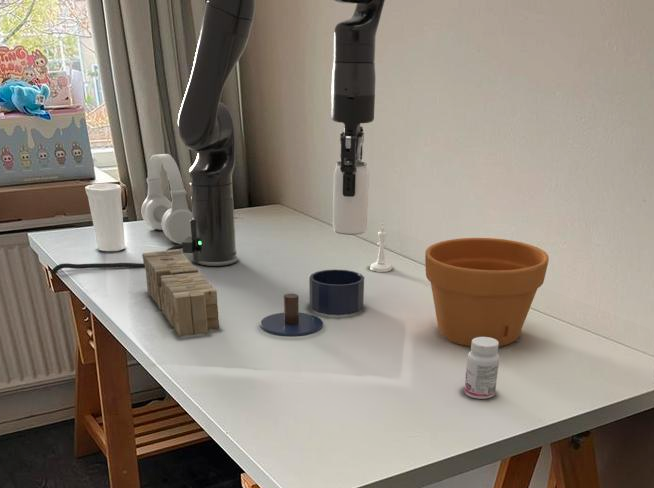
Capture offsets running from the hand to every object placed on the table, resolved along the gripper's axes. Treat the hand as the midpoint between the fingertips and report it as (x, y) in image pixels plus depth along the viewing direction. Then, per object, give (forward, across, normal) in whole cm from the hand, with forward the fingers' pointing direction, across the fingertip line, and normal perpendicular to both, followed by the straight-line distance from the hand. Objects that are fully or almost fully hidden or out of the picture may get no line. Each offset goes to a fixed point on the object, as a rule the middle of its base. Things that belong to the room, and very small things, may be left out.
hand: (350, 191), depth 143 cm
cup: (+22, -31, -60) cm, 72 cm away
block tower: (+22, +9, -31) cm, 39 cm away
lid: (+21, +15, -9) cm, 27 cm away
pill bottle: (+21, +38, +24) cm, 50 cm away
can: (+7, 0, 0) cm, 7 cm away
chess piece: (+22, -26, +5) cm, 34 cm away
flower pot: (+21, +12, +25) cm, 35 cm away
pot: (+21, +3, -2) cm, 22 cm away
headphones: (+22, -47, -51) cm, 72 cm away
